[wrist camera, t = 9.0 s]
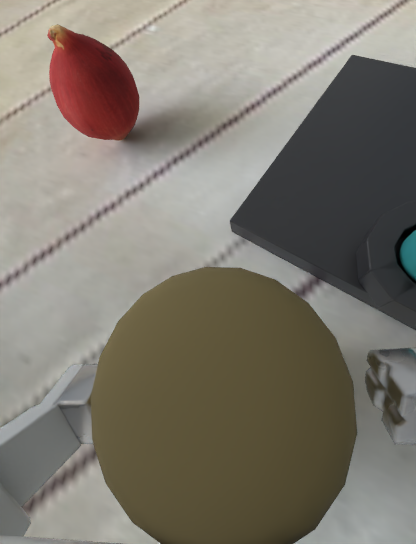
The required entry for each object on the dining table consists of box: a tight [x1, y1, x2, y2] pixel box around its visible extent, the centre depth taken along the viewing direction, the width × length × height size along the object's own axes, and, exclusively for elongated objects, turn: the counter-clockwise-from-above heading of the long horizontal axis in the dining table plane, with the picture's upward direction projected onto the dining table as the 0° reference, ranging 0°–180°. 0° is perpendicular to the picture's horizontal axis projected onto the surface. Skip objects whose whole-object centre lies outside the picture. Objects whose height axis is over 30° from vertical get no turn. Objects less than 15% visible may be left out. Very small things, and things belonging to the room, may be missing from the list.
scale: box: [230, 55, 416, 330], centre depth 15 cm, size 16×13×3 cm
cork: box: [91, 267, 357, 544], centre depth 9 cm, size 6×6×11 cm
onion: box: [47, 24, 139, 140], centre depth 19 cm, size 6×6×8 cm
